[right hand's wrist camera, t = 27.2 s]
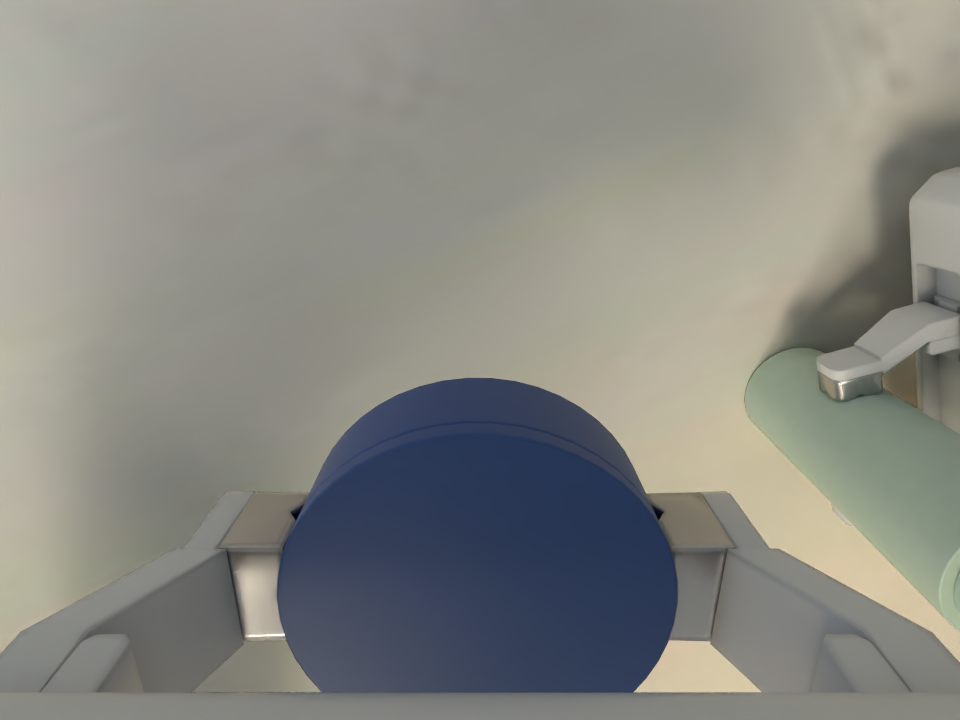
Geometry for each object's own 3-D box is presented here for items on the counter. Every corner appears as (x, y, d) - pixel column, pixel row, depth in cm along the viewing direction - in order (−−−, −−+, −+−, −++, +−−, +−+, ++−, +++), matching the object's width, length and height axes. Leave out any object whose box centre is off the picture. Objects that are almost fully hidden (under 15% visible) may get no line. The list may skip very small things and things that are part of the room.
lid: (393, 315, 9) (370, 360, 7) (709, 465, 10) (761, 539, 8) (266, 586, 11) (222, 677, 9) (542, 691, 12) (554, 792, 10)
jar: (767, 451, 31) (1013, 714, 17) (728, 379, 30) (962, 599, 15) (856, 406, 30) (1198, 644, 16) (821, 329, 29) (1162, 513, 14)
